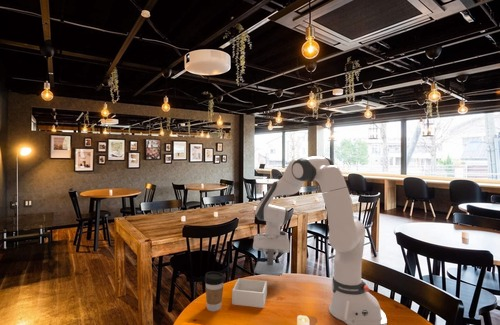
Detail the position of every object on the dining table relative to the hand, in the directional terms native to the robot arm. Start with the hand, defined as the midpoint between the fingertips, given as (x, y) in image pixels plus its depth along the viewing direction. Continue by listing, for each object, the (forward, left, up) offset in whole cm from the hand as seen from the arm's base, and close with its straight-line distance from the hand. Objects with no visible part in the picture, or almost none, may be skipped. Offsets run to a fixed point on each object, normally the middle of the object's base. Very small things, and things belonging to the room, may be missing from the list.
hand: (270, 258), depth 142 cm
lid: (0, +3, -4) cm, 5 cm away
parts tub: (+7, +21, -12) cm, 26 cm away
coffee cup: (+21, +31, -13) cm, 40 cm away
